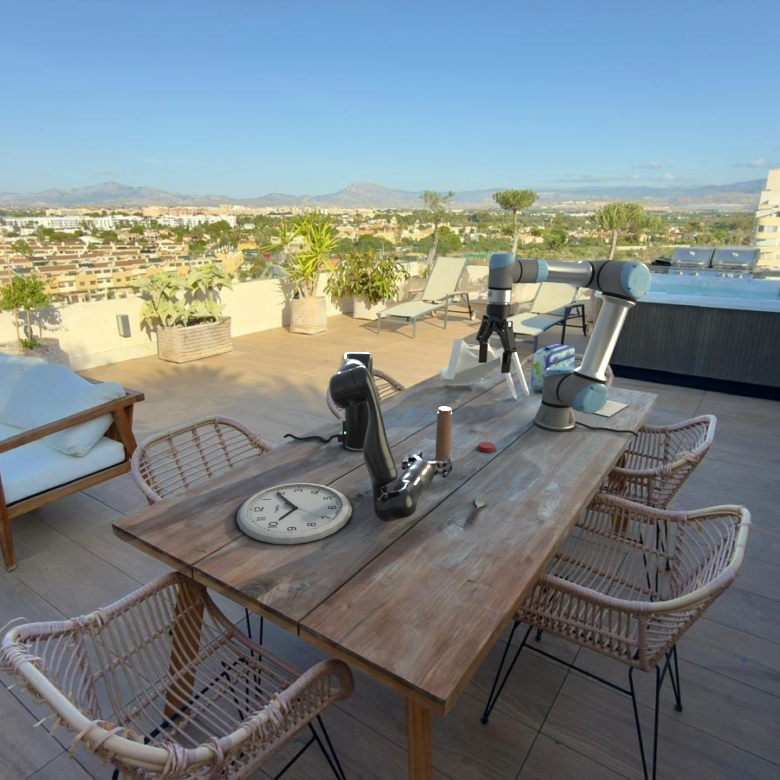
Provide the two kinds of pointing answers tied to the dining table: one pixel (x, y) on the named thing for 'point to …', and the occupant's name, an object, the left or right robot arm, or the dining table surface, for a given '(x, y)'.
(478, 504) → the fork
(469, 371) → the white plastic object
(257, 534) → the wall clock
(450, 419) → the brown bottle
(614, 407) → the invitation card
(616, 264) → the right robot arm
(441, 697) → the dining table surface
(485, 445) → the lid
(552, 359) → the lunch box
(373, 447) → the left robot arm
